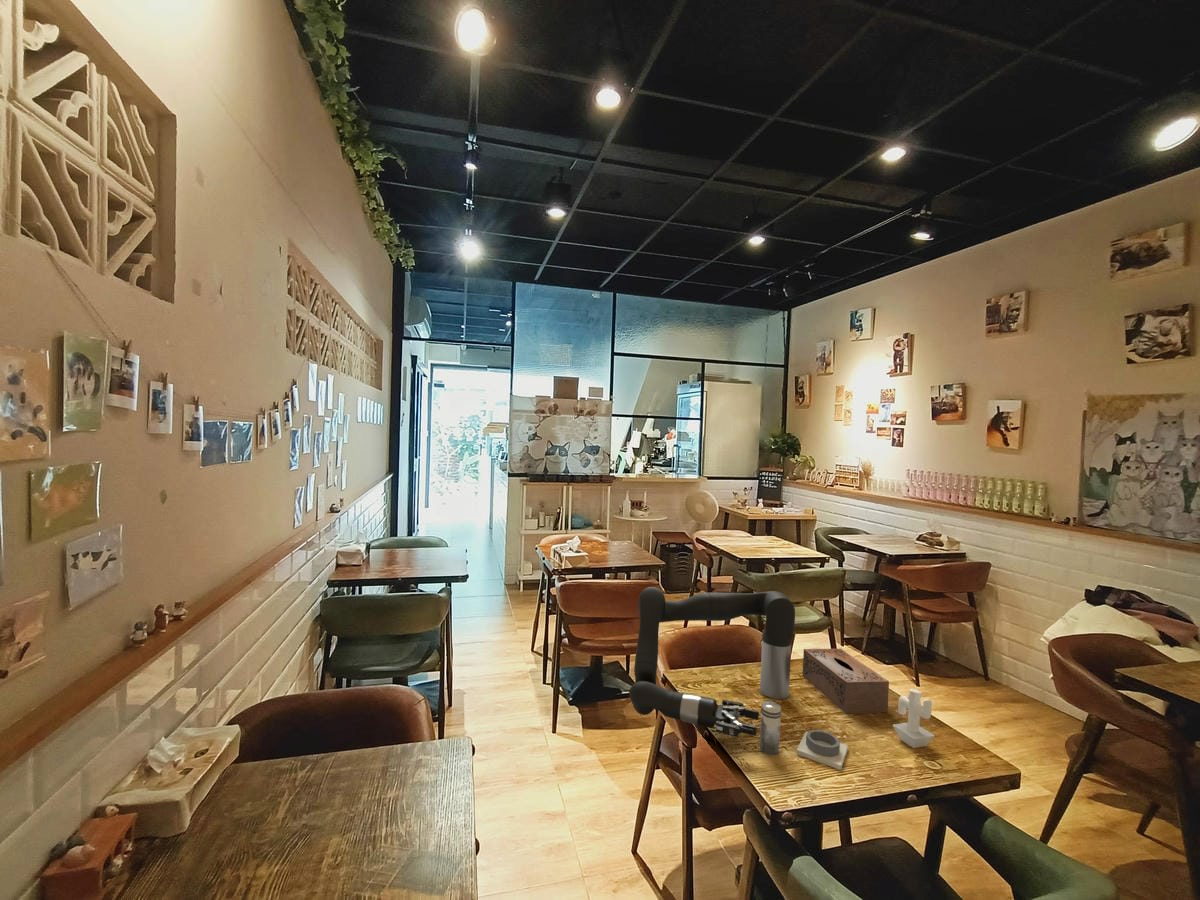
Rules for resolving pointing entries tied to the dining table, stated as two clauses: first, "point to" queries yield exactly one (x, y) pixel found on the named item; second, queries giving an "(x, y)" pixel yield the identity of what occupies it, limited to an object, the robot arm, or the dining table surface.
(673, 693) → the robot arm
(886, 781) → the dining table surface
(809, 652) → the tissue box cover
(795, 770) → the dining table surface
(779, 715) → the piston
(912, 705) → the figurine
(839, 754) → the ring stand
